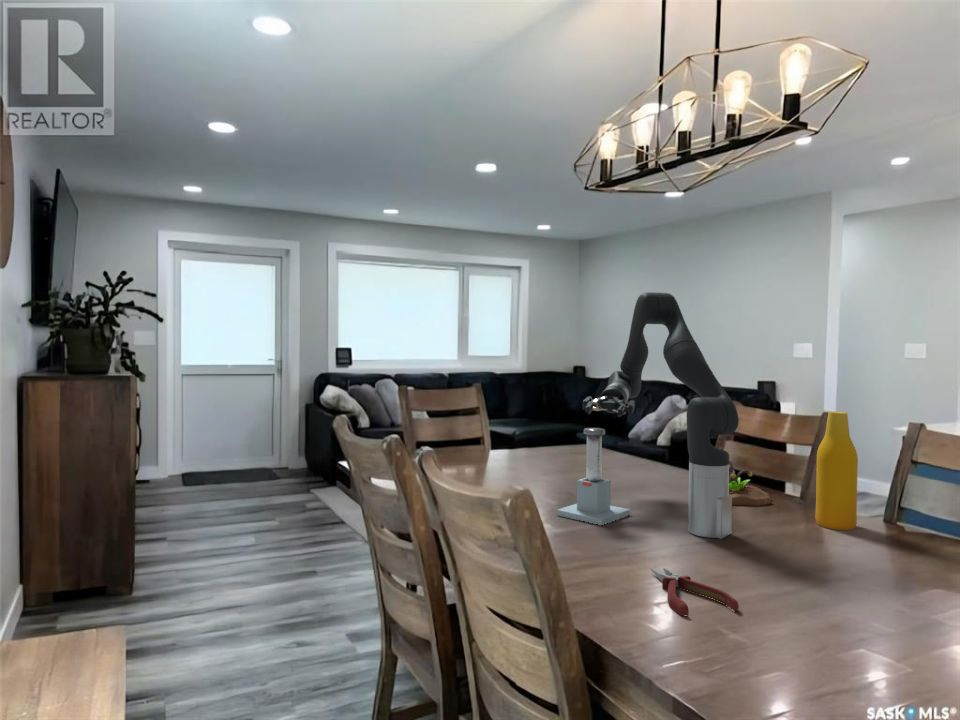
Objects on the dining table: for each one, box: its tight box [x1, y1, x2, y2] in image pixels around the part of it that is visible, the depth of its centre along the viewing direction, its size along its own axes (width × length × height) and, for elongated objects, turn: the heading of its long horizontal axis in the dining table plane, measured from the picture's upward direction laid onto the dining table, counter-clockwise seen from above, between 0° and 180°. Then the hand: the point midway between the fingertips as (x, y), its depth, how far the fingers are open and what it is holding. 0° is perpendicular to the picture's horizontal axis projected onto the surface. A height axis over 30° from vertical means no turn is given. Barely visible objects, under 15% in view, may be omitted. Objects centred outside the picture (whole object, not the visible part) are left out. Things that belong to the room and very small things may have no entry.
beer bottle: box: [814, 411, 859, 531], centre depth 161 cm, size 9×9×29 cm
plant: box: [729, 460, 772, 507], centre depth 191 cm, size 20×20×11 cm
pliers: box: [650, 567, 740, 616], centre depth 118 cm, size 12×20×3 cm, turn 11°
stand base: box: [556, 477, 631, 526], centre depth 170 cm, size 14×14×10 cm
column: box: [583, 427, 606, 483], centre depth 170 cm, size 6×6×21 cm
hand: (603, 411), depth 176 cm, fingers open, 8 cm apart
